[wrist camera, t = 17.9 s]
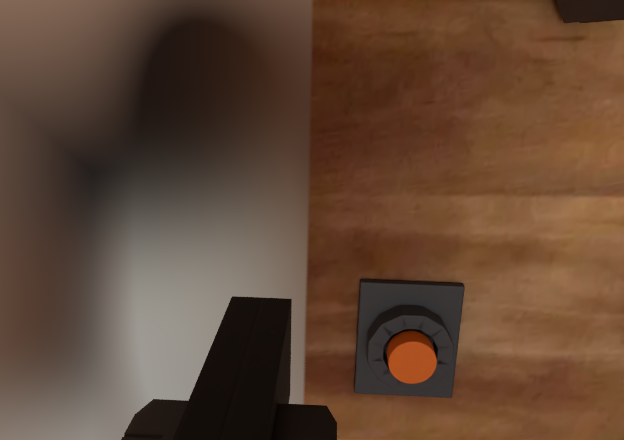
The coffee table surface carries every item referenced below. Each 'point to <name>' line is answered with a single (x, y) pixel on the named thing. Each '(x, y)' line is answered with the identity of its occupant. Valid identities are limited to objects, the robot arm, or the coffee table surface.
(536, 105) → the coffee table surface
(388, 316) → the block
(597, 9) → the pulled-out drawer
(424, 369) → the button
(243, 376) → the robot arm
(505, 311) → the coffee table surface
